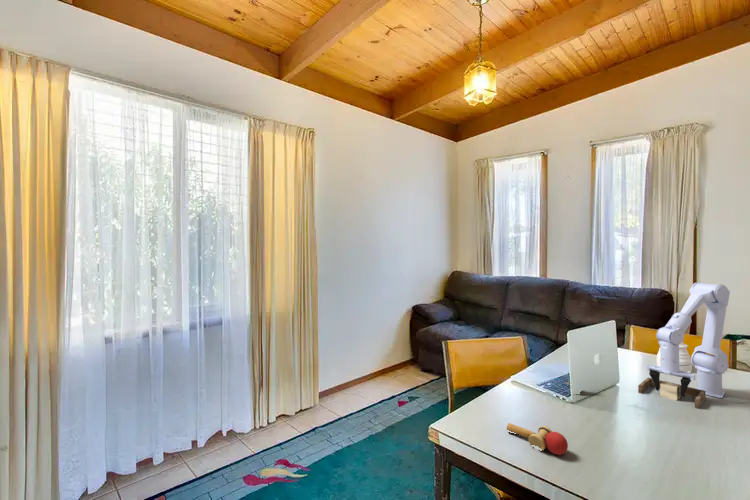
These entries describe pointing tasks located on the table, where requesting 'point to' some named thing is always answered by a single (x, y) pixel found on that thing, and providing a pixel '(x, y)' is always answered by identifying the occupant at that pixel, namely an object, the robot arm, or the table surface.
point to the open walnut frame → (689, 391)
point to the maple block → (670, 390)
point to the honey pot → (681, 358)
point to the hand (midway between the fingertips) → (670, 393)
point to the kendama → (543, 438)
